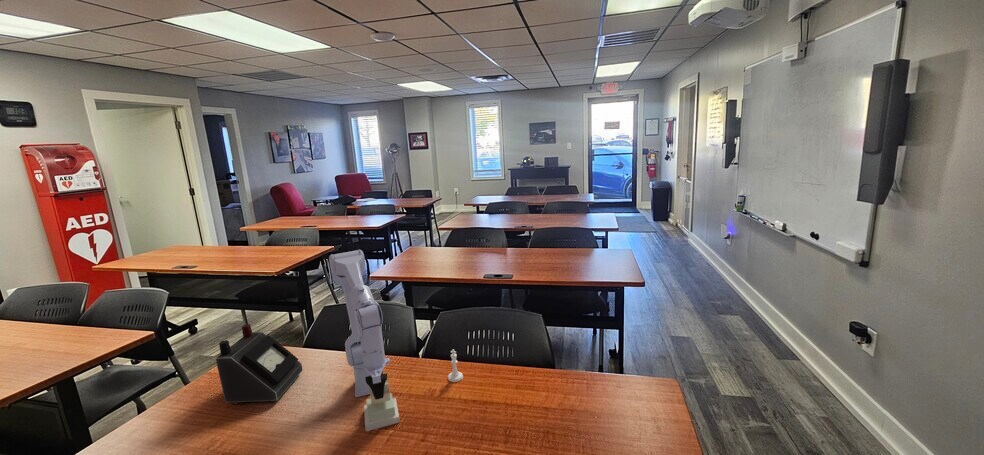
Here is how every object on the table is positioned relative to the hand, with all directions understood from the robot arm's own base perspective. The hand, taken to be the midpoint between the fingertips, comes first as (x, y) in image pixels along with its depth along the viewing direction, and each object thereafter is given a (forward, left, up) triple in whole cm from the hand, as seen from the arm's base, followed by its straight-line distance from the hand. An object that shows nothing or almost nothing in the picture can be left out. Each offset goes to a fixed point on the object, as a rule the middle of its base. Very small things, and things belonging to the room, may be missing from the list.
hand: (378, 392), depth 112 cm
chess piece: (-10, +24, -8) cm, 27 cm away
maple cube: (0, 0, -2) cm, 2 cm away
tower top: (0, 0, -6) cm, 6 cm away
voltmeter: (-29, -34, -8) cm, 45 cm away
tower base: (0, 0, -9) cm, 9 cm away
